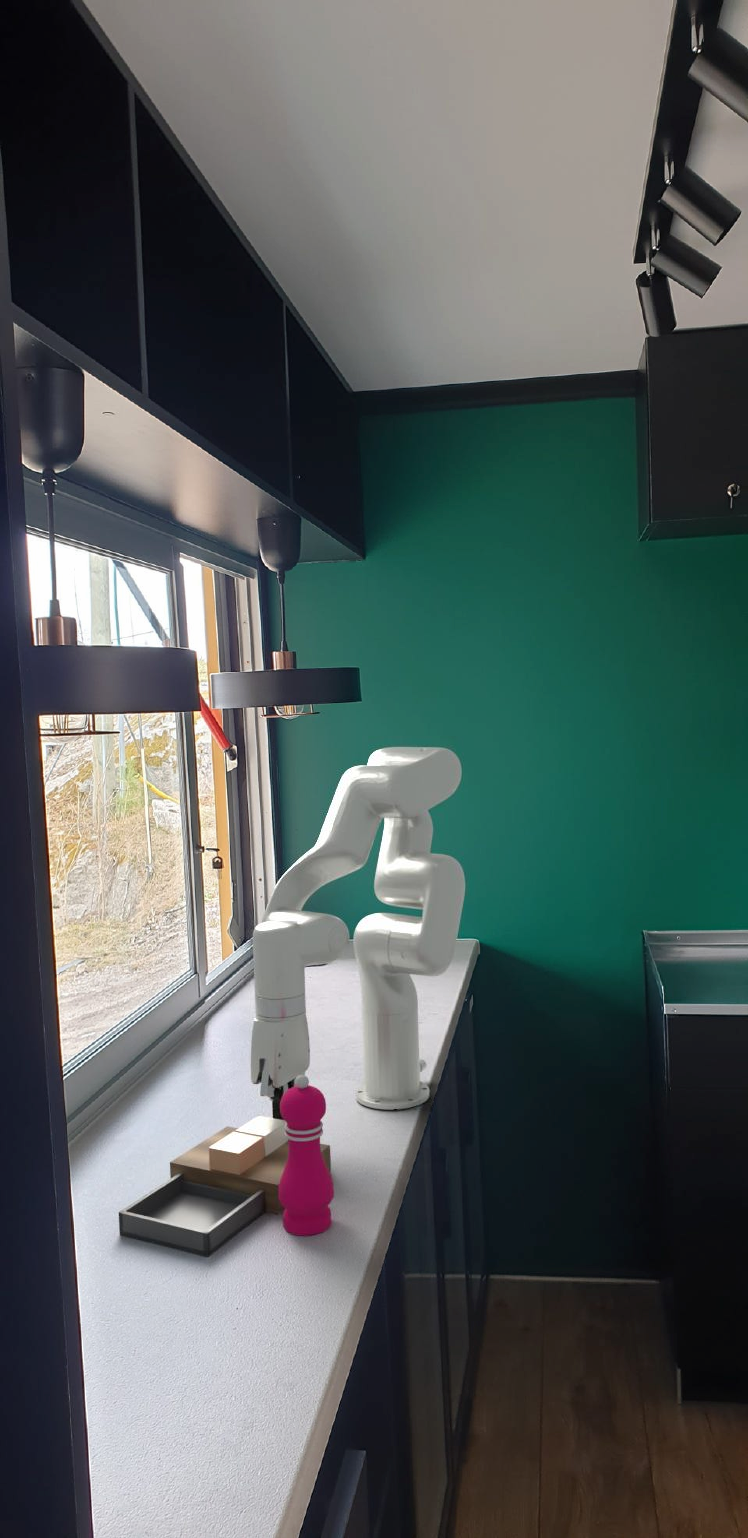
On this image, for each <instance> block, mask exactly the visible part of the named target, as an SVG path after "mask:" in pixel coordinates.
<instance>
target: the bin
mask: <svg viewBox="0 0 748 1538" xmlns="http://www.w3.org/2000/svg"><path fill="white" fill-rule="evenodd" d="M265 1213H266V1211H265V1192H264V1190H259V1191H258V1192H257V1193H255V1194H254V1195H250V1194H246V1193H241V1192H237V1191H232V1190H227V1189H223V1188H218V1187H213V1186H209V1185H204V1184H200V1183H195V1182H190V1181H186V1180H184V1173H181V1172H180V1173H179V1174H177V1175H176V1176H174V1177H172V1178H171V1177H170V1178H169V1179H168V1180H166V1181H164V1182H163V1183H162V1184H160V1185H158V1186H157V1187H155V1188H154V1189H153V1190H151V1191H149V1192H148V1193H147V1194H145V1195H143V1196H142V1197H140V1198H138V1199H137V1200H136V1201H134V1202H132V1203H131V1204H129V1205H128V1206H126V1207H125V1208H122V1210H120V1211H118V1227H119V1235H120V1236H124V1237H125V1238H126V1237H127V1238H131V1239H134V1240H139V1241H142V1242H147V1243H150V1244H154V1245H159V1246H162V1247H166V1248H171V1249H175V1250H178V1251H182V1252H187V1253H191V1254H195V1255H198V1256H202V1257H206V1258H209V1257H210V1256H211V1255H213V1254H214V1253H216V1251H218V1250H219V1249H220V1248H221V1247H223V1246H224V1245H225V1244H227V1243H228V1242H229V1241H230V1240H232V1239H233V1238H234V1237H236V1236H237V1235H238V1234H239V1233H241V1232H242V1231H243V1230H245V1229H246V1228H247V1227H248V1226H249V1225H251V1224H252V1223H254V1221H256V1220H257V1219H258V1218H260V1217H261V1216H262V1215H264V1214H265Z"/></svg>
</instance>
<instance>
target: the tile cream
mask: <svg viewBox="0 0 748 1538" xmlns="http://www.w3.org/2000/svg"><path fill="white" fill-rule="evenodd" d="M286 1123H287V1122H286V1121H285V1120H280V1119H274V1118H273V1117H268V1116H263V1115H262V1116H261V1115H258V1116H256V1117H255V1118H252V1119H251V1120H250V1121H248V1122H247V1123H245V1124H244V1125H241V1126H240V1127H238V1128H239V1129H237V1130H236V1132H237V1133H243V1134H248V1135H253V1136H259V1137H263V1152H264V1156H265V1157H266V1156H267V1155H269V1154H270V1153H271V1152H273V1151H274V1150H276V1149H277V1148H279V1147H280V1146H281V1145H283V1144H284V1143H286V1142H287V1141H288V1138H287V1137H286V1136H285V1128H284V1126H285V1124H286Z"/></svg>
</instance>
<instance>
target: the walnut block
mask: <svg viewBox="0 0 748 1538" xmlns="http://www.w3.org/2000/svg"><path fill="white" fill-rule="evenodd" d="M239 1128H240V1127H233V1126H226V1127H224V1128H223V1129H221V1130H219V1131H217V1132H216V1133H214V1134H212V1135H211V1136H210V1137H207V1138H206V1139H205V1140H203V1141H202V1142H200V1143H198V1144H196V1145H195V1146H193V1147H192V1148H190V1149H189V1150H186V1151H185V1152H183V1153H182V1154H181V1155H179V1156H177V1157H176V1158H174V1159H173V1160H171V1161H170V1162H169V1166H170V1167H169V1176H170V1179H171V1178H172V1177H174V1176H176V1175H177V1174H179V1173H180V1172H181V1173H184V1180H186V1181H190V1182H195V1183H200V1184H204V1185H209V1186H213V1187H218V1188H223V1189H227V1190H232V1191H237V1192H241V1193H246V1194H250V1195H254V1194H255V1193H257V1192H258V1191H259V1190H264V1192H265V1212H269V1213H273V1214H278V1215H280V1214H281V1213H283V1212H284V1210H285V1209H286V1208H285V1207H284V1206H283V1205H282V1204H281V1202H280V1200H279V1184H280V1179H281V1177H282V1174H283V1171H284V1169H285V1166H286V1163H287V1159H288V1153H289V1143H288V1141H287V1142H286V1143H284V1144H283V1145H281V1146H280V1147H279V1148H277V1149H276V1150H274V1151H273V1152H271V1153H270V1154H269V1155H267V1156H266V1157H265V1156H264V1158H263V1159H262V1160H260V1161H259V1162H257V1163H256V1164H254V1165H253V1166H252V1167H250V1168H249V1169H247V1170H246V1171H245V1172H243V1173H242V1174H240V1175H237V1174H233V1173H228V1172H223V1171H218V1170H213V1169H210V1165H209V1147H211V1146H212V1145H214V1144H215V1143H217V1142H218V1141H220V1140H222V1139H223V1138H225V1137H226V1136H228V1135H229V1134H231V1133H232V1132H236V1130H237V1129H239ZM320 1148H321V1154H322V1158H323V1160H324V1163H325V1165H326V1167H327V1169H328V1171H329V1173H330V1172H331V1173H332V1165H331V1164H332V1163H331V1145H330V1144H325V1143H320ZM331 1173H330V1174H331Z"/></svg>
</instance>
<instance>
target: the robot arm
mask: <svg viewBox="0 0 748 1538" xmlns="http://www.w3.org/2000/svg"><path fill="white" fill-rule="evenodd" d="M462 774H463V773H462V765H461V761H460V759H459V757H458V755H457V754H456V753H455V752H453V751H452V750H451V749H448V748H445V747H439V746H438V747H434V746H432V747H431V746H427V747H424V746H420V747H419V746H391V747H389V746H388V747H383V748H380V749H378V750H375V751H374V752H373V753H372V754H370V756H369V758H368V762H367V764H366V765H356V766H353V767H351V768H349V769H347V770H346V771H345V772H344V774H342V776H341V779H340V781H339V783H338V786H337V788H336V790H335V794H334V796H333V799H332V802H331V804H330V806H329V809H328V813H327V815H326V817H325V820H324V823H323V825H322V828H321V831H320V833H319V835H318V836H319V837H318V839H317V842H316V843H315V845H314V846H313V847H312V848H311V849H310V850H308V851H307V852H306V853H305V854H303V855H302V856H301V857H300V858H299V859H298V860H297V861H296V862H295V863H293V864H292V865H291V867H289V868H288V869H287V871H285V873H284V874H283V875H282V876H281V878H280V879H278V881H277V883H276V884H275V886H274V888H273V890H272V893H271V895H270V896H269V900H268V902H267V905H266V908H265V911H264V913H263V917H262V920H261V923H260V924H257V925H256V926H255V927H254V929H253V932H252V954H253V955H252V956H253V958H252V959H253V978H254V979H253V981H254V982H253V983H254V1006H255V1007H254V1009H255V1011H254V1013H255V1018H254V1019H253V1025H252V1031H251V1041H250V1043H251V1044H250V1080H251V1083H252V1084H253V1085H258V1084H260V1091H259V1093H260V1097H264V1098H269V1100H270V1101H271V1105H272V1107H271V1108H272V1118H274V1119H280V1120H284V1119H283V1117H282V1116H281V1113H280V1102H281V1099H282V1096H283V1095H284V1093H285V1092H286V1091H287V1090H289V1089H290V1088H292V1087H294V1086H296V1084H295V1080H296V1078H297V1077H298V1076H299V1075H305V1074H306V1072H307V1071H308V1070H309V1067H310V1065H311V1063H310V1062H311V1049H310V1048H311V1046H310V1034H309V1025H308V1019H307V1006H306V1005H307V1002H306V1001H307V998H306V997H307V996H306V974H305V973H306V972H305V970H306V969H305V968H306V967H307V966H314V965H315V966H316V965H325V964H329V963H333V962H335V961H336V960H338V959H340V958H341V957H342V955H344V953H345V952H346V951H347V949H348V947H349V942H350V931H349V929H348V926H347V924H346V923H345V922H344V920H342V919H341V918H340V917H337V916H336V915H333V914H329V913H323V912H315V911H307V910H302V909H303V907H304V905H305V904H306V902H307V901H308V899H309V898H310V897H311V896H312V895H313V894H314V893H315V892H316V891H317V890H319V889H320V888H321V887H323V886H324V885H326V884H329V883H330V882H333V881H335V880H337V879H339V878H343V877H344V876H347V875H349V874H352V873H354V872H356V871H358V870H359V869H362V868H363V867H364V866H365V865H366V863H367V862H368V858H369V855H370V852H371V850H372V847H373V844H374V840H375V839H376V835H377V832H378V830H379V827H380V825H381V822H382V820H383V819H384V822H383V823H384V826H383V833H382V839H381V844H380V848H379V849H380V850H379V854H378V859H377V864H376V870H375V874H374V875H375V876H374V881H373V882H374V883H373V888H374V889H373V891H374V894H375V896H376V898H377V899H378V900H379V901H380V903H381V902H382V903H383V904H385V905H389V906H393V907H399V908H405V909H416V910H422V916H415V915H410V914H409V915H408V914H399V913H391V912H377V913H372V914H369V915H366V916H364V917H363V918H362V919H361V920H360V921H359V922H358V924H357V925H356V927H355V929H354V932H353V940H352V941H353V950H354V951H353V952H354V956H355V960H356V964H357V969H358V973H359V982H360V994H361V996H360V998H361V1019H362V1020H361V1024H362V1025H361V1026H362V1053H363V1055H362V1056H363V1057H362V1058H363V1082H364V1083H362V1084H360V1085H359V1086H358V1087H357V1088H356V1090H355V1099H356V1102H358V1103H359V1104H361V1106H362V1105H363V1106H365V1107H368V1108H370V1109H371V1108H372V1109H375V1110H385V1111H390V1110H392V1111H393V1110H394V1109H397V1110H404V1109H410V1108H415V1107H417V1106H419V1105H422V1104H423V1103H425V1102H426V1101H428V1099H429V1098H430V1088H429V1086H428V1085H427V1084H425V1083H424V1082H422V1081H421V1078H420V1077H421V1073H422V1072H423V1071H424V1070H426V1068H427V1062H426V1061H425V1059H422V1058H420V1040H419V1037H420V1036H419V1035H420V1034H419V1006H418V1005H419V1001H418V999H419V998H418V993H417V989H416V985H415V982H414V981H413V978H412V977H411V975H415V976H420V977H421V976H423V977H432V978H433V977H439V976H441V975H442V974H444V973H445V972H447V971H448V969H449V968H450V965H451V964H452V961H453V958H454V954H455V951H456V946H457V942H458V941H457V939H458V936H459V935H458V933H459V928H460V924H461V918H462V912H463V907H464V906H463V905H464V901H465V893H466V879H465V873H464V869H463V867H462V865H461V863H460V862H459V861H458V860H457V859H455V857H453V856H451V855H447V854H443V853H433V852H431V848H432V847H431V846H432V840H433V835H434V825H433V820H432V816H431V814H430V813H429V810H430V809H432V808H434V807H435V806H437V805H439V804H440V803H443V802H444V801H445V800H447V799H448V798H450V797H452V795H453V794H454V793H455V791H457V789H458V787H459V785H460V783H461V779H462ZM305 1076H306V1075H305Z"/></svg>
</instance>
